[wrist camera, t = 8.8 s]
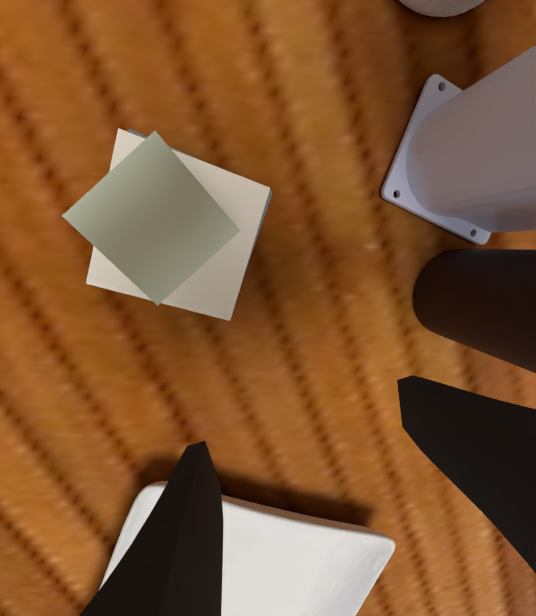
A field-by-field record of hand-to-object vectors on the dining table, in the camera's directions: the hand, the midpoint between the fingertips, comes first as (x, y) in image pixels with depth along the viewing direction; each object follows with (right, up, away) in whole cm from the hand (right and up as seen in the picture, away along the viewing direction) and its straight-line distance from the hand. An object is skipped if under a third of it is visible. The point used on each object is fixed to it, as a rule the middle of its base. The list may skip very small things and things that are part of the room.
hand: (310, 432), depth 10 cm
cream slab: (-6, +8, +6) cm, 12 cm away
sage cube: (-6, +8, +3) cm, 11 cm away
